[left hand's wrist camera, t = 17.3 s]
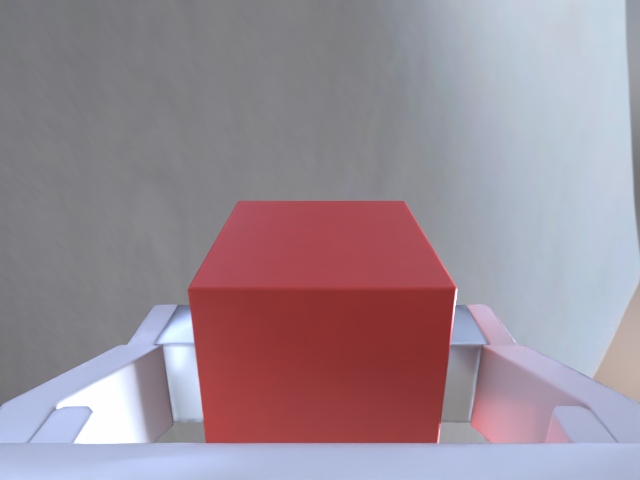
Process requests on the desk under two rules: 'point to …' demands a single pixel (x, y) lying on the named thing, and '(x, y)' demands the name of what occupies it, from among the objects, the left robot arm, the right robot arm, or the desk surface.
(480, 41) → the desk surface
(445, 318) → the brick
